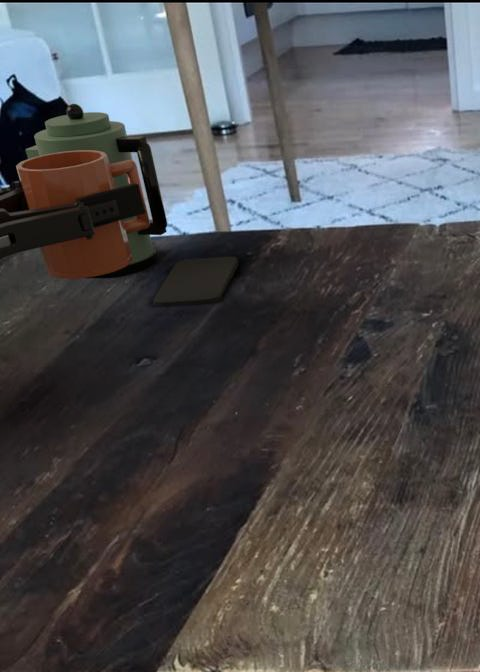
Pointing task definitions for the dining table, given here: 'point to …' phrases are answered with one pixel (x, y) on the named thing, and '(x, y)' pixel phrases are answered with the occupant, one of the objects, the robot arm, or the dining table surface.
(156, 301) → the phone
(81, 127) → the kettle
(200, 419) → the dining table surface
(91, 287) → the dining table surface
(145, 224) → the mug
